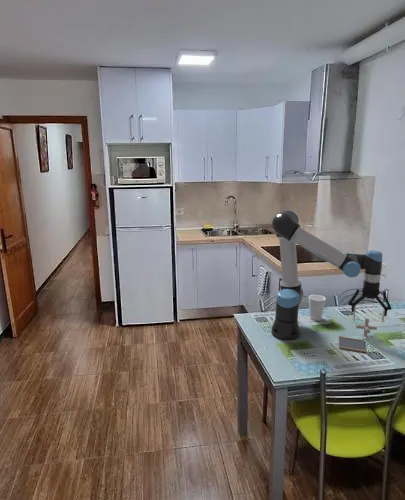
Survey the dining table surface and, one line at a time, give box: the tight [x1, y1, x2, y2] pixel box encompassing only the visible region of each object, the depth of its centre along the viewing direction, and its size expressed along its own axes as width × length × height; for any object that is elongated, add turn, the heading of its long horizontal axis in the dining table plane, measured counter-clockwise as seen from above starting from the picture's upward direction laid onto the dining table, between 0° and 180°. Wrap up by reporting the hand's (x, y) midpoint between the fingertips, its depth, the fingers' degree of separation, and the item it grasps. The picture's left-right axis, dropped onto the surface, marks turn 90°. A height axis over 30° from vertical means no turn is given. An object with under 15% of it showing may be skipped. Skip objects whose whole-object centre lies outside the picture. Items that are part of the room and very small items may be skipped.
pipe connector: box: [355, 317, 378, 338], centre depth 186 cm, size 10×10×10 cm
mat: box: [338, 335, 366, 354], centre depth 178 cm, size 12×12×1 cm
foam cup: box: [308, 294, 327, 321], centre depth 208 cm, size 10×9×13 cm
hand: (367, 319), depth 185 cm, fingers open, 13 cm apart
